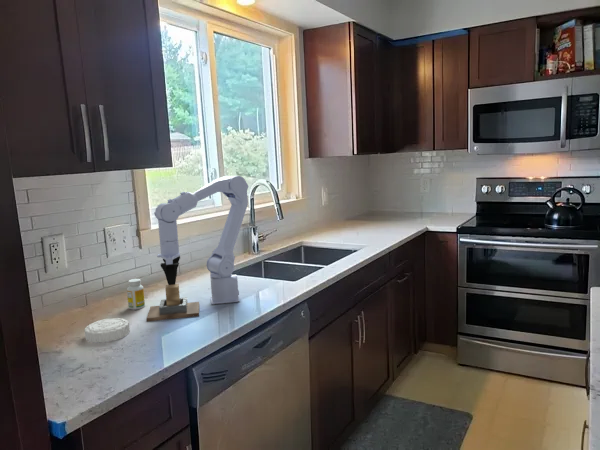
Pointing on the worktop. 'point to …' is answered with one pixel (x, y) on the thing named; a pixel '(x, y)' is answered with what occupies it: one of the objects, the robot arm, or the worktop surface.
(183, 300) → the socket board
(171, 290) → the peg
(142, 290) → the supplement bottle
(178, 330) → the worktop surface
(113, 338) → the mooncake
